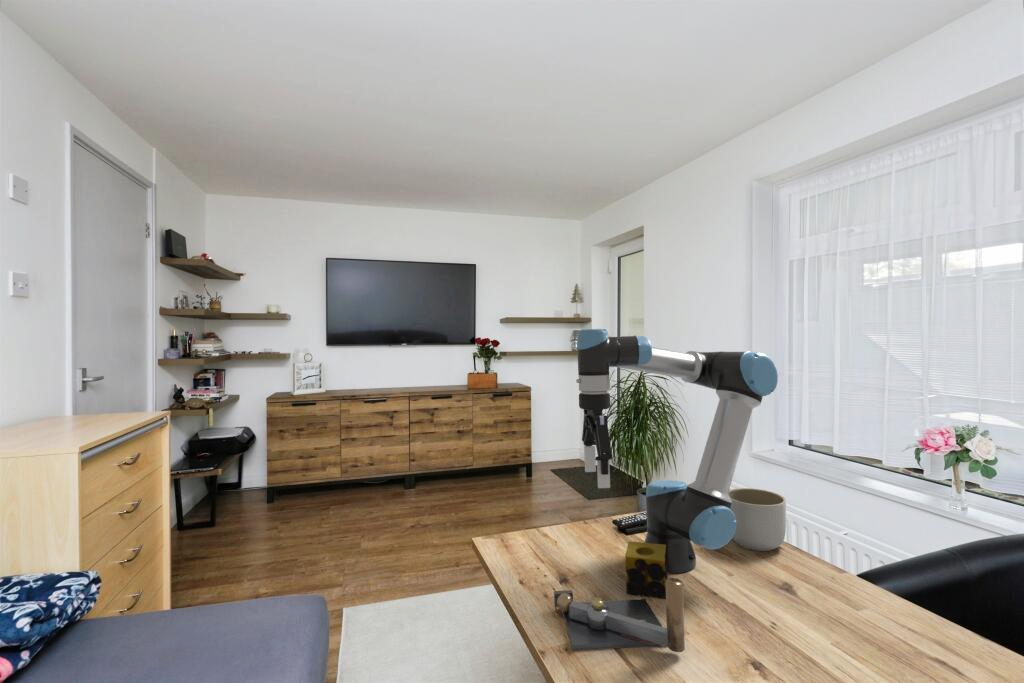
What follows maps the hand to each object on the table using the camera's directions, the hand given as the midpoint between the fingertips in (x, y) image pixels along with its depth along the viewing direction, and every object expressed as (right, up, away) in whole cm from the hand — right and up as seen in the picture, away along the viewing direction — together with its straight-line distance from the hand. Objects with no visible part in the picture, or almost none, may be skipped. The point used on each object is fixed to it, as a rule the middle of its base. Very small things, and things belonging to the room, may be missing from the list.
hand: (596, 479), depth 115 cm
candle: (+15, -32, +9) cm, 36 cm away
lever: (+4, -30, -12) cm, 32 cm away
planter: (+56, -30, +33) cm, 72 cm away
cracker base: (+1, -32, -8) cm, 32 cm away
